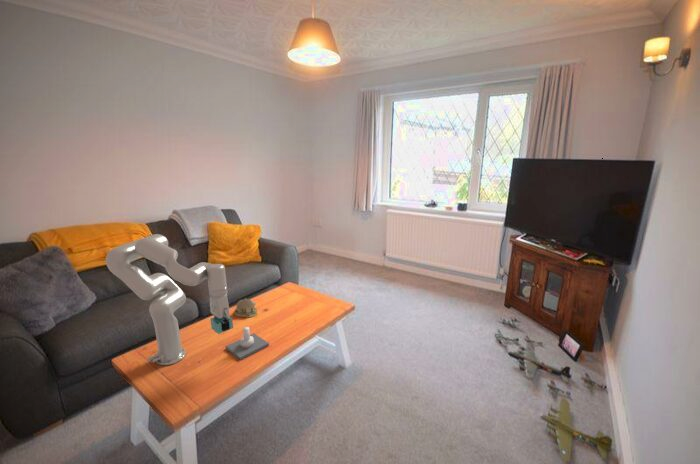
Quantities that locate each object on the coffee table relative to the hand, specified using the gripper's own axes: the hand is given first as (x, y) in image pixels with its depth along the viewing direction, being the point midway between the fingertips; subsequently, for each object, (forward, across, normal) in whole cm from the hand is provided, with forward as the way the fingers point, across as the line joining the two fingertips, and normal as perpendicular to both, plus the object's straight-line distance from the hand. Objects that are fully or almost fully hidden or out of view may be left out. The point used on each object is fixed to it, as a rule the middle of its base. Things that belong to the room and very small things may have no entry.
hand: (222, 326), depth 146 cm
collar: (+1, 0, 0) cm, 1 cm away
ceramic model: (+18, -35, +30) cm, 50 cm away
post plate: (+18, -2, +13) cm, 22 cm away
